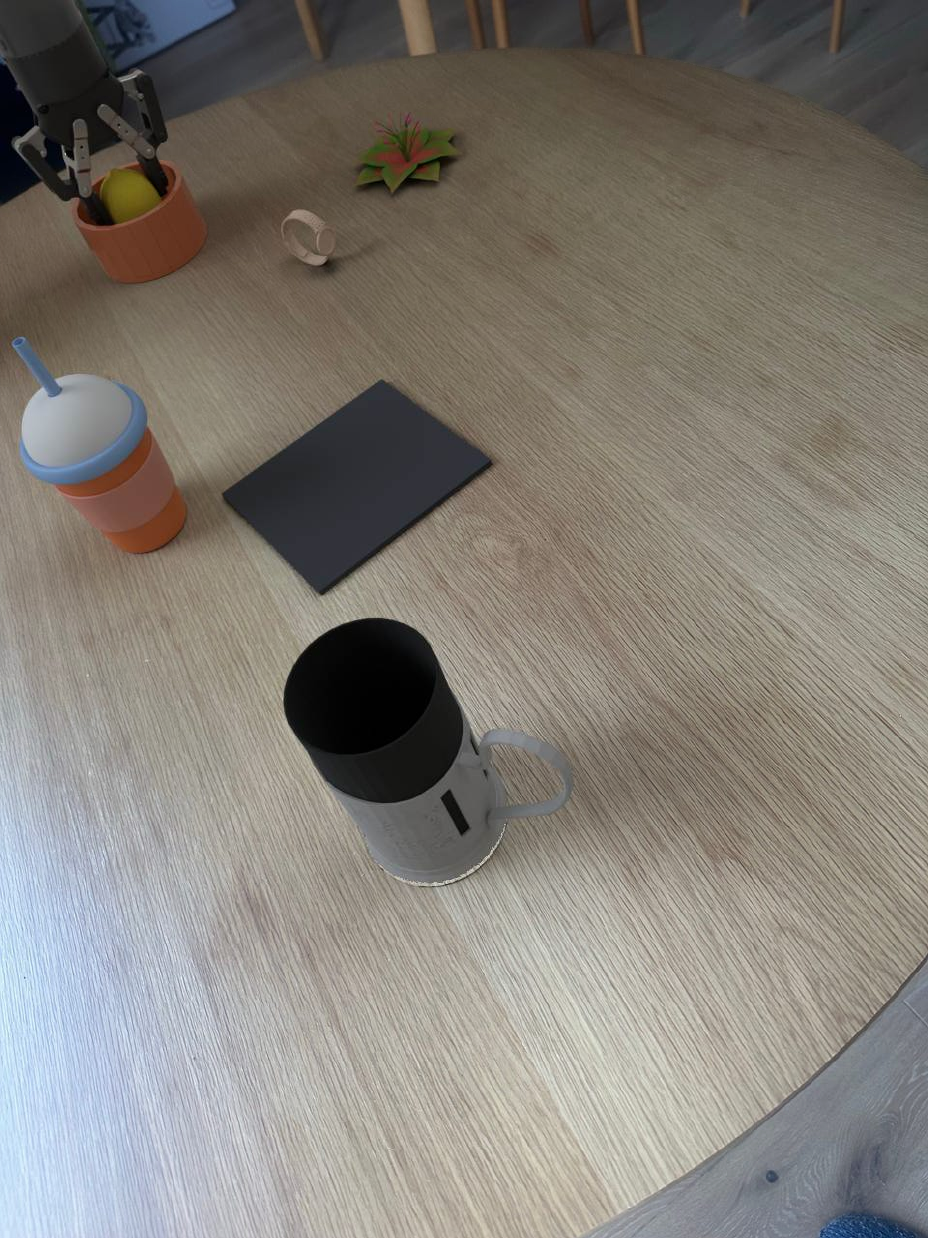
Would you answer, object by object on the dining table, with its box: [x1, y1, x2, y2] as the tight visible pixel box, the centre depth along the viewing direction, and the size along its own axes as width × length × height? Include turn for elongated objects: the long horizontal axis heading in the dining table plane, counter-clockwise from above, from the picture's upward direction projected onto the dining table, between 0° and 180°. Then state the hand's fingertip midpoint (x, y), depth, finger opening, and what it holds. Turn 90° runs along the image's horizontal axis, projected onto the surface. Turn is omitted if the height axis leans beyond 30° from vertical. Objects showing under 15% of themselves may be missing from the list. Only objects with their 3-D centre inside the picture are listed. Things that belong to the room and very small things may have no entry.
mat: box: [221, 378, 493, 596], centre depth 74 cm, size 16×14×1 cm
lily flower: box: [352, 110, 463, 194], centre depth 96 cm, size 12×12×5 cm
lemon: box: [100, 167, 162, 225], centre depth 96 cm, size 6×6×8 cm
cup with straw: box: [11, 336, 187, 554], centre depth 69 cm, size 9×9×18 cm
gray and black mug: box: [282, 617, 575, 884], centre depth 51 cm, size 9×14×15 cm, turn 67°
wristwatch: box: [280, 209, 337, 267], centre depth 90 cm, size 3×5×5 cm, turn 60°
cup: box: [70, 158, 208, 284], centre depth 97 cm, size 11×11×6 cm
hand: (134, 208), depth 96 cm, fingers closed on lemon, 5 cm apart
